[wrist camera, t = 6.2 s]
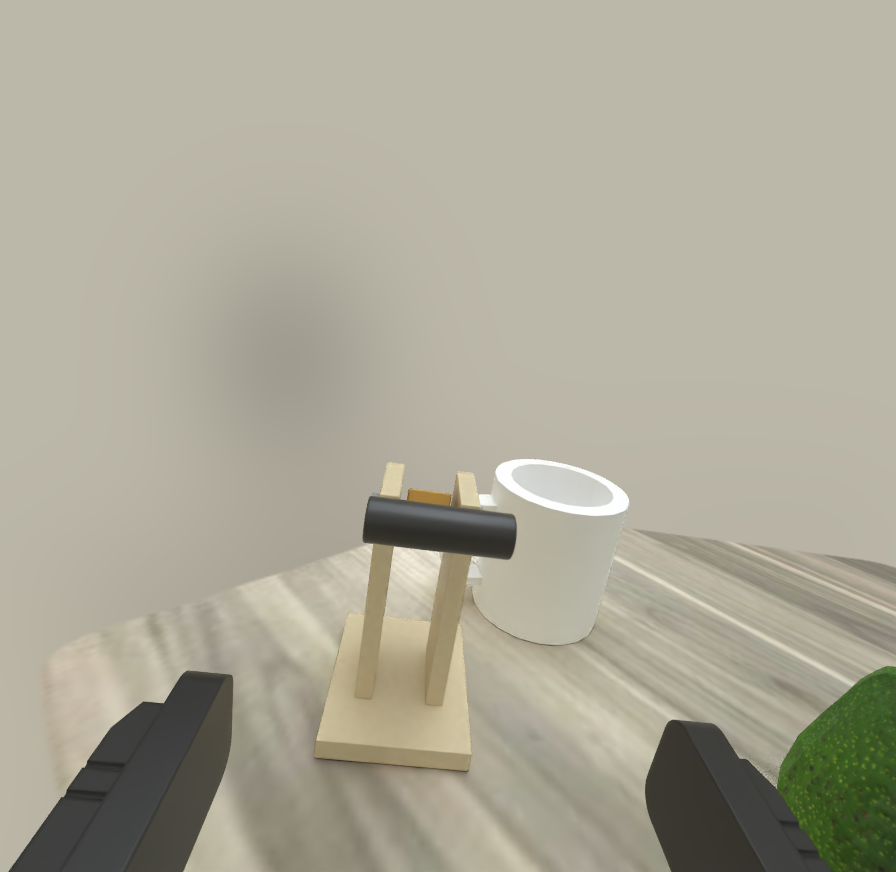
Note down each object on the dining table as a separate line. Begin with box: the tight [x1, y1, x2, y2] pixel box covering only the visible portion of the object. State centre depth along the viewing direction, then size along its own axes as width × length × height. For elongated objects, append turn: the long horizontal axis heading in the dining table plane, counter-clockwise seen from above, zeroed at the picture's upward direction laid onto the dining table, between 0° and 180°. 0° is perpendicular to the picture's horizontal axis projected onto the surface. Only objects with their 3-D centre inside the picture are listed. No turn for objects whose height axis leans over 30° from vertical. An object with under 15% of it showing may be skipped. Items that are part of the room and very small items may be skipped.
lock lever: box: [363, 489, 517, 560], centre depth 22 cm, size 12×5×2 cm, turn 2°
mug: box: [440, 459, 630, 645], centre depth 39 cm, size 14×10×11 cm
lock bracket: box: [315, 462, 483, 771], centre depth 28 cm, size 10×8×14 cm
